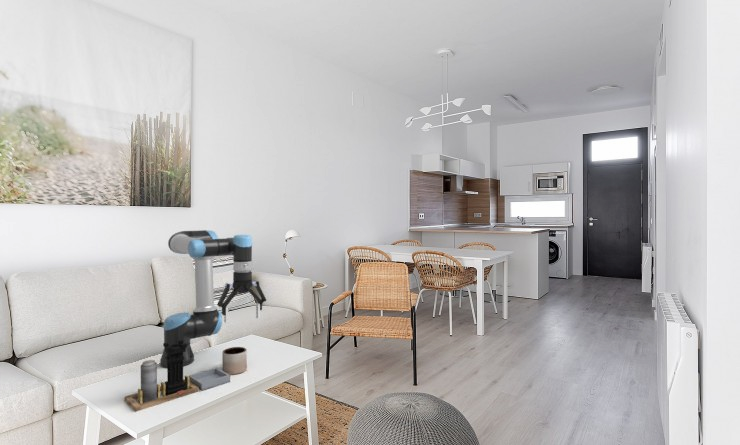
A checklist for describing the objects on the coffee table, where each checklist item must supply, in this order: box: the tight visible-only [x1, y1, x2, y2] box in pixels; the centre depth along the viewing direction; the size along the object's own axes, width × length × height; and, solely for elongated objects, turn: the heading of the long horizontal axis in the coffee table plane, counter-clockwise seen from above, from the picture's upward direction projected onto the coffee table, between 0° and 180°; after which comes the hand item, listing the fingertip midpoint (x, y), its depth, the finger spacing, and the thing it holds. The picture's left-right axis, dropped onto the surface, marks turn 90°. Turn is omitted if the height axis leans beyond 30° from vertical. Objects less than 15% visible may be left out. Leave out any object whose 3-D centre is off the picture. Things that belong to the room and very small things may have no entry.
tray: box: [188, 367, 231, 392], centre depth 176 cm, size 13×13×3 cm
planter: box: [221, 346, 248, 376], centre depth 189 cm, size 11×11×10 cm
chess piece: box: [163, 340, 187, 396], centre depth 166 cm, size 8×8×20 cm
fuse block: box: [123, 359, 200, 412], centre depth 162 cm, size 13×24×15 cm, turn 137°
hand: (242, 320), depth 173 cm, fingers open, 13 cm apart
